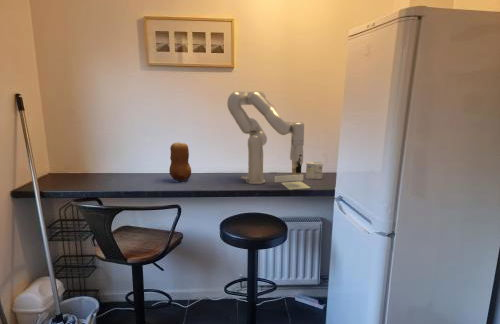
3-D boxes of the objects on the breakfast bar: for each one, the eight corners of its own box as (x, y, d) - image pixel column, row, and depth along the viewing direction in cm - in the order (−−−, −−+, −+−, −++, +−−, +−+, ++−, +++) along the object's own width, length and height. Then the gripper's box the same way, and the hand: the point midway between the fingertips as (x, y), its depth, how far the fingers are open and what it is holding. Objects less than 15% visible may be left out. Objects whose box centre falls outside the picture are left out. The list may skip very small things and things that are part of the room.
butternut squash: (190, 177, 211) (189, 140, 206) (192, 182, 198) (191, 143, 193) (169, 178, 208) (168, 141, 202) (169, 183, 195) (168, 144, 190)
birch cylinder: (294, 175, 189) (294, 162, 188) (290, 173, 194) (291, 160, 193) (302, 174, 191) (303, 161, 189) (298, 172, 196) (299, 160, 194)
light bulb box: (320, 176, 216) (321, 161, 214) (322, 179, 210) (323, 163, 207) (305, 176, 217) (306, 161, 215) (306, 178, 211) (306, 163, 208)
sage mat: (289, 189, 186) (289, 189, 186) (280, 183, 199) (280, 182, 199) (310, 188, 189) (310, 187, 189) (301, 182, 203) (301, 181, 203)
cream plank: (274, 182, 201) (275, 176, 200) (274, 182, 202) (274, 176, 201) (303, 180, 206) (303, 174, 206) (302, 180, 207) (303, 174, 206)
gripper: (286, 141, 196) (285, 169, 199) (297, 145, 179) (296, 175, 183) (297, 140, 197) (296, 168, 201) (309, 144, 181) (308, 174, 185)
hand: (296, 171), depth 192 cm, fingers closed on birch cylinder, 5 cm apart
